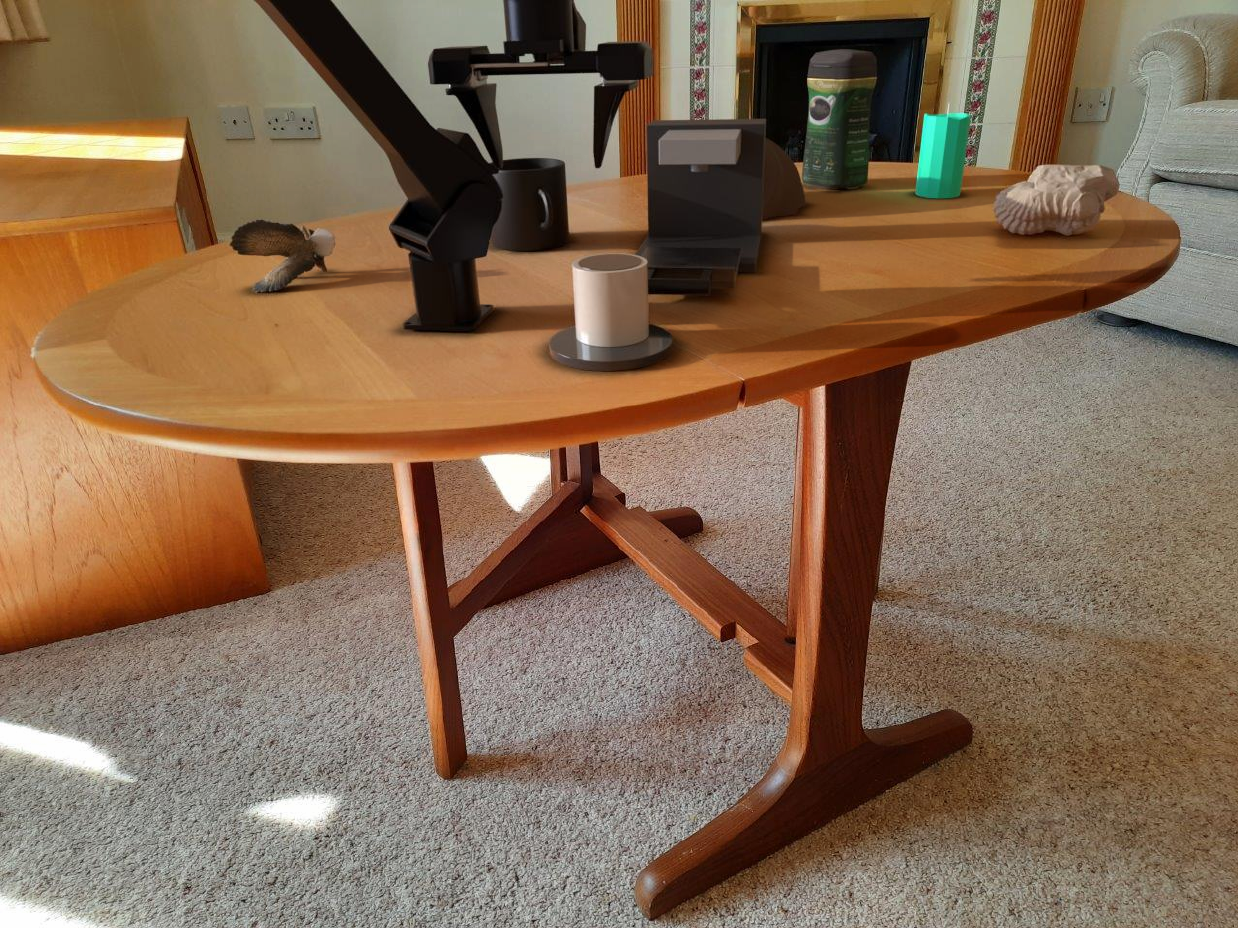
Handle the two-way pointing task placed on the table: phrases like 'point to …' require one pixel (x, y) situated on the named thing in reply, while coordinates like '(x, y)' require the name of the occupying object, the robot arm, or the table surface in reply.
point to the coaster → (610, 351)
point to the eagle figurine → (283, 250)
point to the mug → (531, 205)
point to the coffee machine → (706, 185)
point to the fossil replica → (1057, 199)
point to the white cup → (611, 299)
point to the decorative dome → (780, 183)
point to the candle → (942, 155)
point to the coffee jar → (839, 118)
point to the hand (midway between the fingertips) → (548, 168)
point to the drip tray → (691, 269)
